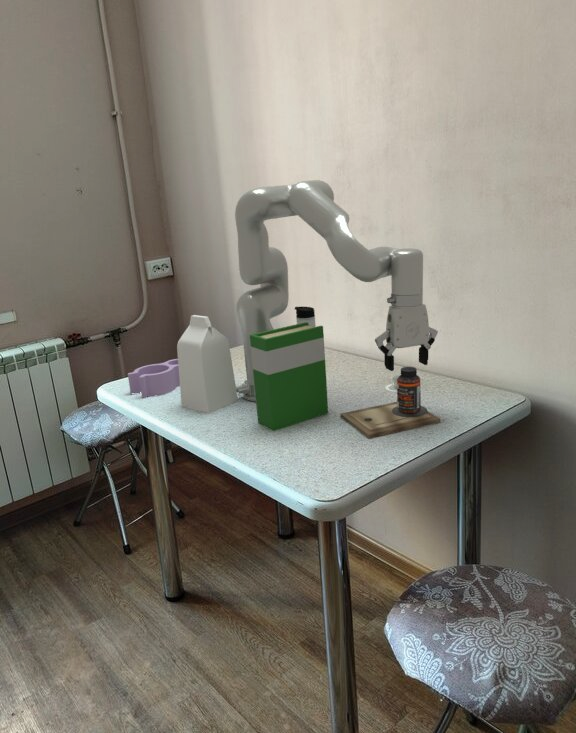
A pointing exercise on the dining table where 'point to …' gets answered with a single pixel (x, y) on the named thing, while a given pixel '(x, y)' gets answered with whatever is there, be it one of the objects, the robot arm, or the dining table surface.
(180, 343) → the milk
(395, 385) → the teacup and saucer
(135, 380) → the clip
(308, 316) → the travel mug
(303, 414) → the hardback book
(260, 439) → the dining table surface
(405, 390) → the supplement bottle
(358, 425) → the brown flat wooden board
